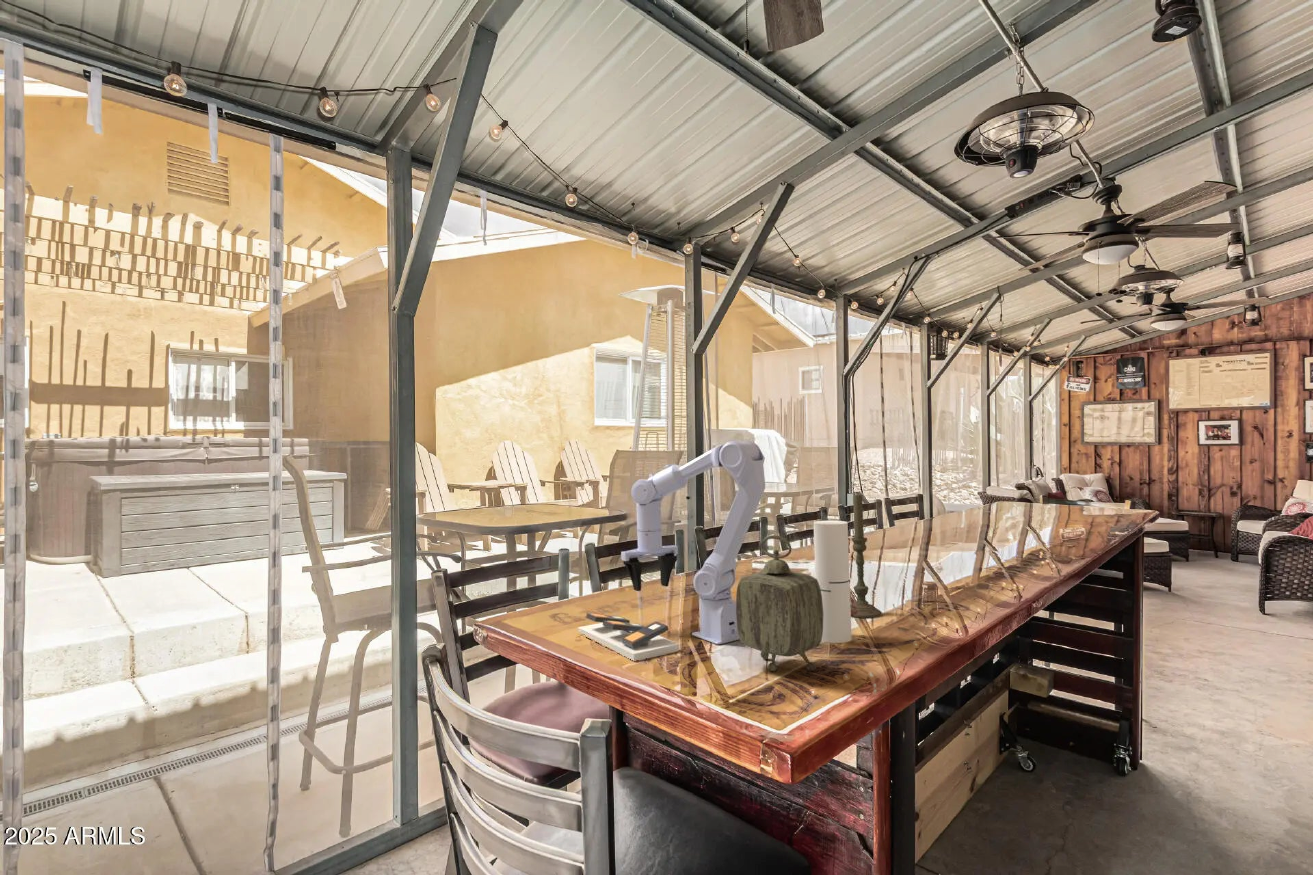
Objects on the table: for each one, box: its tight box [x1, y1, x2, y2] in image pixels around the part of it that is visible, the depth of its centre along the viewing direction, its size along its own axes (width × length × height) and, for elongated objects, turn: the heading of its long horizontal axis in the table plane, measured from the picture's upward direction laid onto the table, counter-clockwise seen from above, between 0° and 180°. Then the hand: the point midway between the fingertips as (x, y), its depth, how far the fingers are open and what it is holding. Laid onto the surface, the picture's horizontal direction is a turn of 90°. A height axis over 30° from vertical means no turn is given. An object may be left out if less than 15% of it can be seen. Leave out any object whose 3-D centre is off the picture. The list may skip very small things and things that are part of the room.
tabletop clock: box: [735, 534, 824, 673], centre depth 123 cm, size 14×9×25 cm, turn 43°
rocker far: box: [585, 613, 631, 623], centre depth 150 cm, size 4×9×1 cm, turn 123°
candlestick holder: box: [850, 491, 882, 619], centre depth 162 cm, size 9×9×30 cm
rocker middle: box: [602, 621, 646, 631], centre depth 143 cm, size 4×9×1 cm, turn 123°
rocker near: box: [621, 621, 669, 648], centre depth 137 cm, size 4×9×1 cm, turn 123°
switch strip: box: [577, 622, 680, 662], centre depth 143 cm, size 25×11×2 cm, turn 33°
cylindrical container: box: [813, 520, 852, 644], centre depth 142 cm, size 7×7×25 cm
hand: (651, 588), depth 154 cm, fingers open, 7 cm apart
